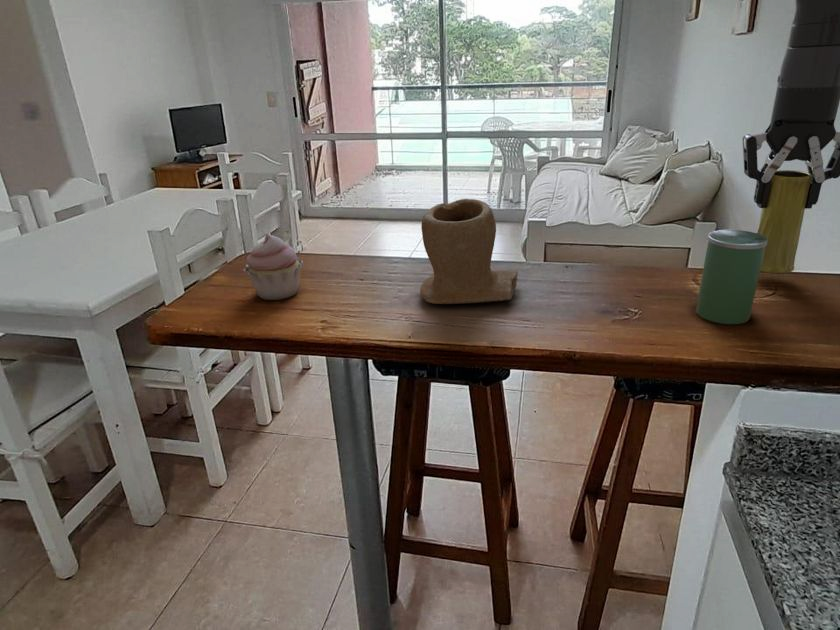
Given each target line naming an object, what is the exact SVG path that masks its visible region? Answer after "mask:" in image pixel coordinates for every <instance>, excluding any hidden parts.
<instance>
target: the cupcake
mask: <svg viewBox="0 0 840 630" xmlns="http://www.w3.org/2000/svg"><path fill="white" fill-rule="evenodd" d="M303 263H304V260H303V259H299V257H297V253H296V251H295V250H294V249H293V246H290V245H288V244H286V243H285V242H284V240H283V239H282V238H280V237H278V236H275V235H272V234H269V233H266V234H265V236H264V240H262V241H260V242H259V243H257V244H255V246H254V247H253V248H252V249H251V253H250V254H248V255H247V257H246V264H245V268H244V269H242V271H243V272H244V273H245V275H246V276H247V277H248V278H249V279H250V281H251V283H252V285H253V287H254V289H255V291H256V294H257V296H258V298H260V299H262V300H266V301H277V300H278V301H279V300H280V301H281V300H285V299H288V298H290V297H293V296H295V295H296V294H297V293H298V291H299V287H300V276H301V269H302V266H303Z"/></svg>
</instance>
